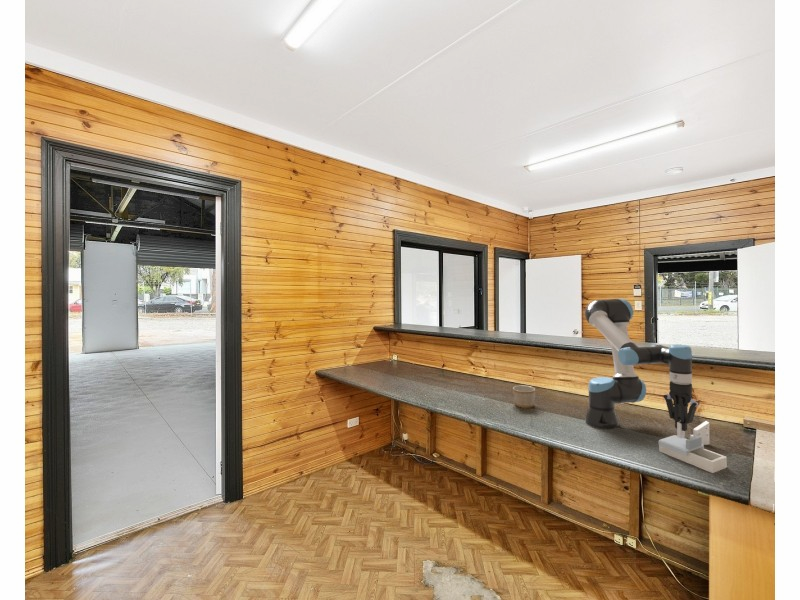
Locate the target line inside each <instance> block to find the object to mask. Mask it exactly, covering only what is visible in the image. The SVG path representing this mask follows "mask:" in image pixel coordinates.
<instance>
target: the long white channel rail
mask: <svg viewBox="0 0 800 600" xmlns="http://www.w3.org/2000/svg"><path fill="white" fill-rule="evenodd" d="M658 451H659V452H660V453H662V454H665V455H666V456H670V457H672V458H673V459H677V460H679V461H682V462H684V463H687V464H689V465H692V466H695V467H696V468H699V469H702V470H703V471H706V472H709V473H711V474H714V473H717V472H719V471H722V470H725V469H726V468H727V467H728V465H727V460H728V459H727V456H725V455H723V454H720V453H717V452H714V451H711V450H709V449H706V448H705V447H704V448H699V449H696V450H693V451H690V452H687V456H685V455H683V454H680V453H677V452H675V451H672V450H670V449H667V448H665V447H662V446H660V445H659V444H658Z"/></svg>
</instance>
